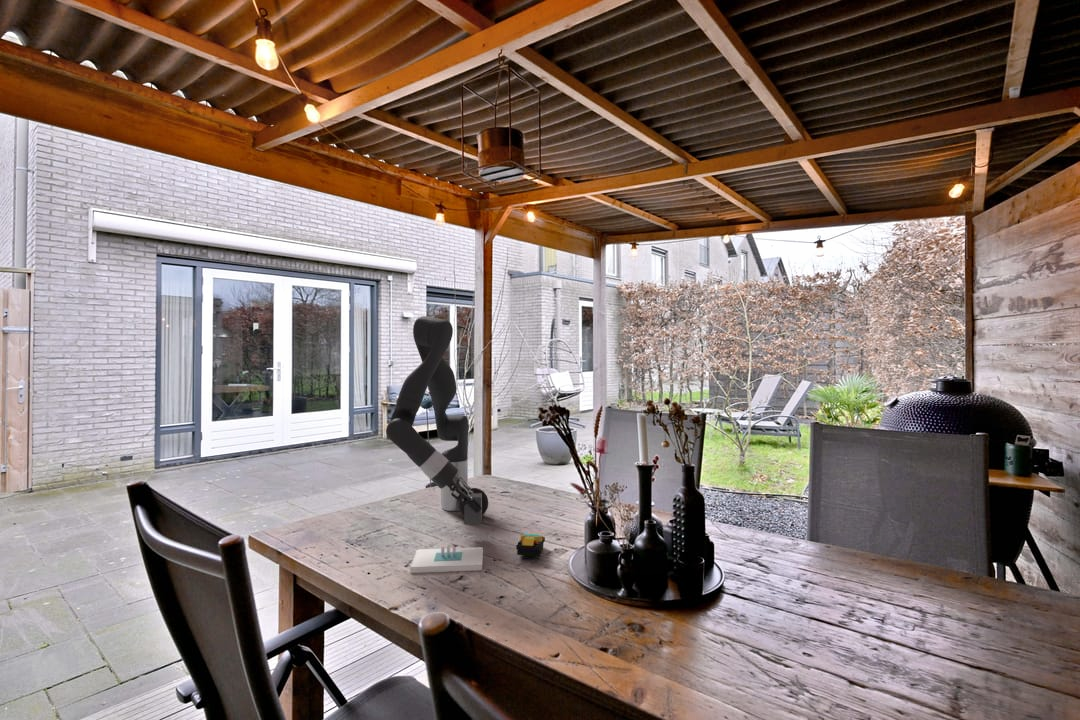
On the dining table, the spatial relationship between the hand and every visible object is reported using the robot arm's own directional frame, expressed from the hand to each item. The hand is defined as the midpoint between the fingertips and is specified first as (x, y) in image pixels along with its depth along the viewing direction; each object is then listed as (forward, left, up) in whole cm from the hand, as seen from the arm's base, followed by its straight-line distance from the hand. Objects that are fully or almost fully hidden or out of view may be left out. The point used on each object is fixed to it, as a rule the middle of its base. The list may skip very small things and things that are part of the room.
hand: (479, 508), depth 159 cm
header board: (+10, -17, -9) cm, 22 cm away
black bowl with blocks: (+20, +4, -9) cm, 22 cm away
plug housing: (-1, -2, -4) cm, 5 cm away
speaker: (-17, +9, -9) cm, 22 cm away
